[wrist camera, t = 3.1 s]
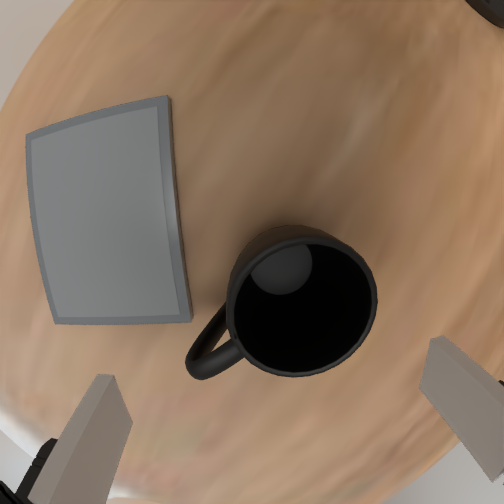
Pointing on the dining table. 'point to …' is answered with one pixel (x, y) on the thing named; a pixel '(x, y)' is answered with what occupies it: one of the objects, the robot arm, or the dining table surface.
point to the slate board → (109, 217)
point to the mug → (290, 306)
